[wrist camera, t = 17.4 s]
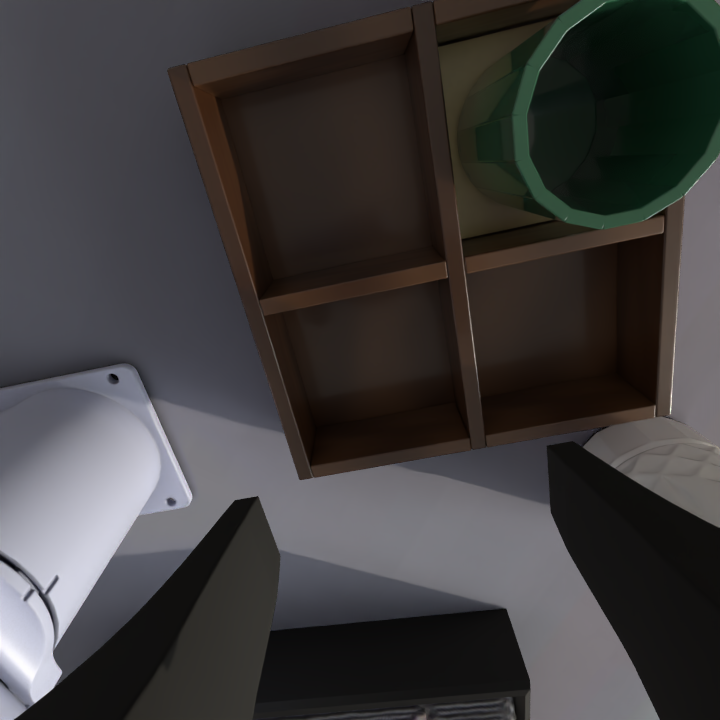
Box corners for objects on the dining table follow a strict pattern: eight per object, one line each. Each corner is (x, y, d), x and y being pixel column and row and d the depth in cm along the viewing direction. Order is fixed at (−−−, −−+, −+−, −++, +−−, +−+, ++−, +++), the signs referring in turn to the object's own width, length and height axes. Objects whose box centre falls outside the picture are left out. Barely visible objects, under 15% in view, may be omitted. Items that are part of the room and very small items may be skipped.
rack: (308, 433, 22) (299, 481, 19) (204, 87, 16) (165, 68, 13) (622, 375, 21) (671, 415, 18) (628, -19, 15) (703, -70, 12)
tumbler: (465, 218, 17) (521, 247, 11) (447, 67, 15) (503, 8, 10) (599, 189, 17) (729, 203, 11) (598, 31, 15) (755, -56, 9)
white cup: (633, 374, 21) (847, 539, 12) (748, 450, 23) (1017, 648, 13) (521, 492, 24) (625, 703, 14) (632, 553, 25) (789, 776, 16)
